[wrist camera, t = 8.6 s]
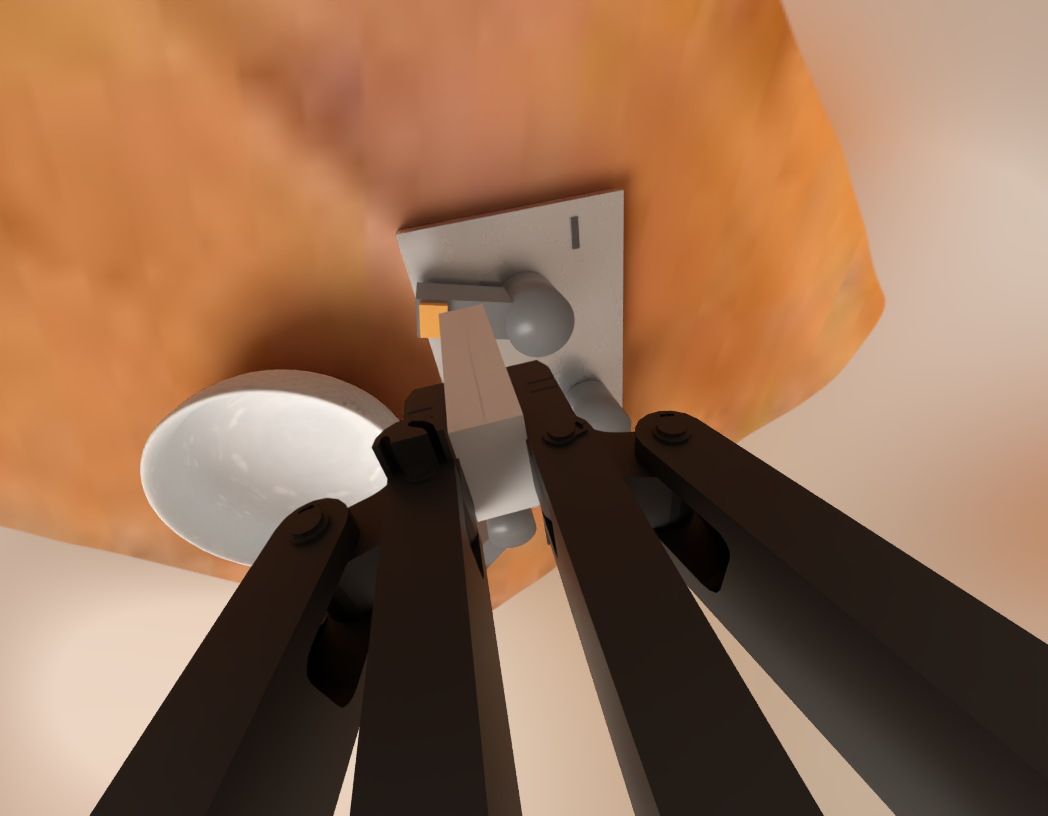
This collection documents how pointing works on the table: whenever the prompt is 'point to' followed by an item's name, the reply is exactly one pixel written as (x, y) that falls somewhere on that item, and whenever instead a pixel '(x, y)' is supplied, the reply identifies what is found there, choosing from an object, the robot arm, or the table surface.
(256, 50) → the table surface
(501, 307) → the knob
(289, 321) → the table surface
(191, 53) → the table surface
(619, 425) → the knob
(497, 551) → the knob
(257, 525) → the cereal bowl
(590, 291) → the level plate
